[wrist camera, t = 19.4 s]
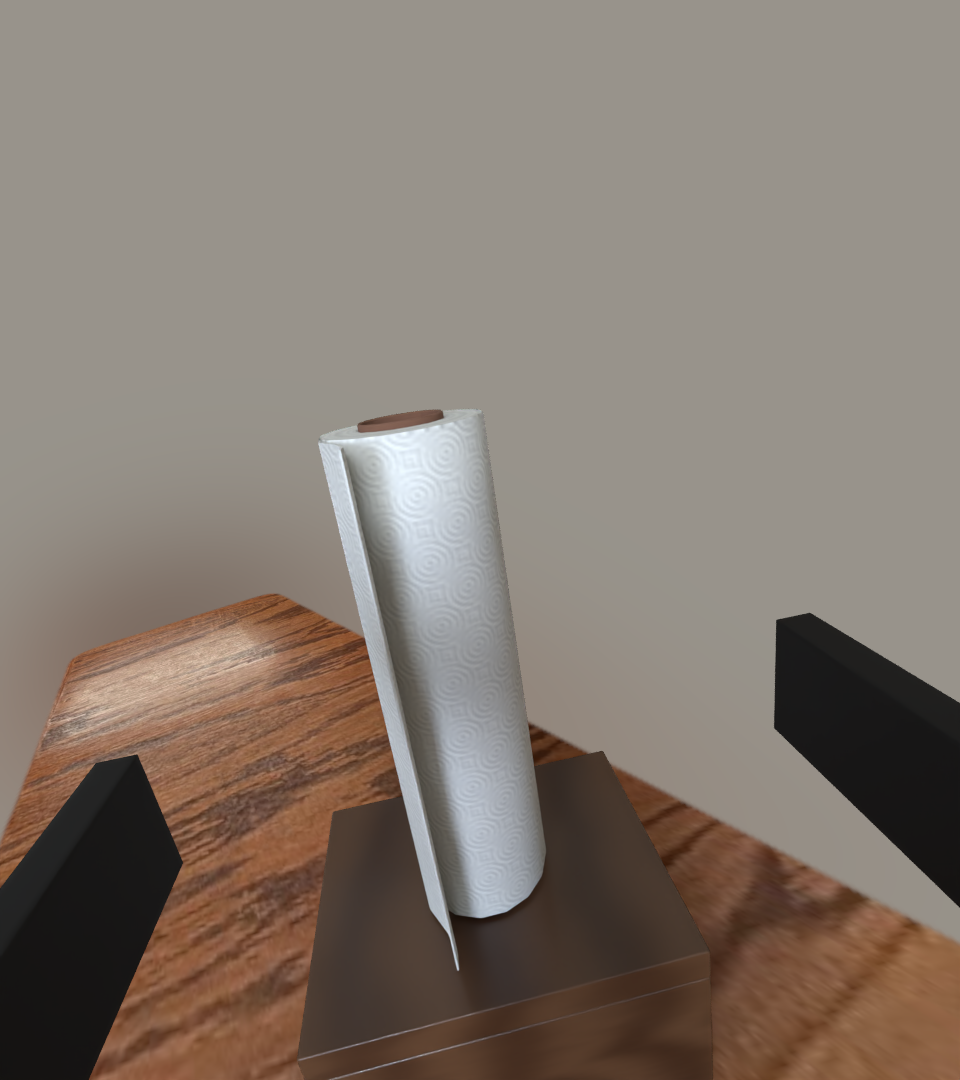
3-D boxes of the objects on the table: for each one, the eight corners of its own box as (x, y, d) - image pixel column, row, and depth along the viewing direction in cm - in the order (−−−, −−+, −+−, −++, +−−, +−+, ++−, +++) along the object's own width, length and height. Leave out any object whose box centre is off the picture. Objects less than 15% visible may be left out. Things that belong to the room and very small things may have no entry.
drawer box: (612, 852, 35) (602, 749, 33) (713, 1081, 24) (710, 951, 22) (362, 913, 34) (332, 811, 32) (345, 1186, 23) (295, 1061, 20)
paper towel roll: (487, 795, 31) (418, 405, 24) (573, 856, 26) (516, 399, 20) (378, 884, 27) (256, 440, 20) (458, 974, 22) (336, 442, 15)
